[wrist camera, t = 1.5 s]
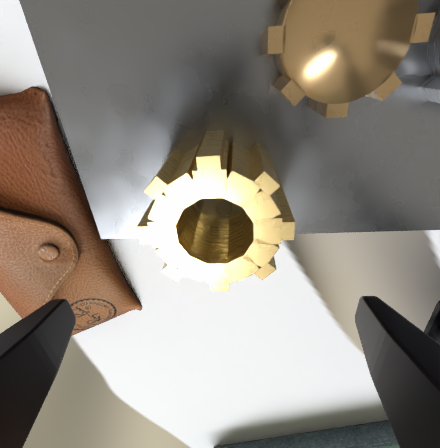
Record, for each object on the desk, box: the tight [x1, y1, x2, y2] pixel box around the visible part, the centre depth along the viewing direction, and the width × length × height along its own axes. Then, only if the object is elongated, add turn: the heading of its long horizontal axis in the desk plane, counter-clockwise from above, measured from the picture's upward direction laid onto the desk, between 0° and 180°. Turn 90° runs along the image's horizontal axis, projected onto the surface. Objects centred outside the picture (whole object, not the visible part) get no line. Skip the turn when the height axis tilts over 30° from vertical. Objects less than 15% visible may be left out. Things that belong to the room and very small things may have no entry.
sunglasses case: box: [0, 87, 142, 336], centre depth 18 cm, size 18×7×7 cm, turn 11°
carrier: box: [19, 0, 440, 239], centre depth 10 cm, size 20×24×6 cm
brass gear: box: [136, 130, 295, 291], centre depth 14 cm, size 7×7×4 cm
